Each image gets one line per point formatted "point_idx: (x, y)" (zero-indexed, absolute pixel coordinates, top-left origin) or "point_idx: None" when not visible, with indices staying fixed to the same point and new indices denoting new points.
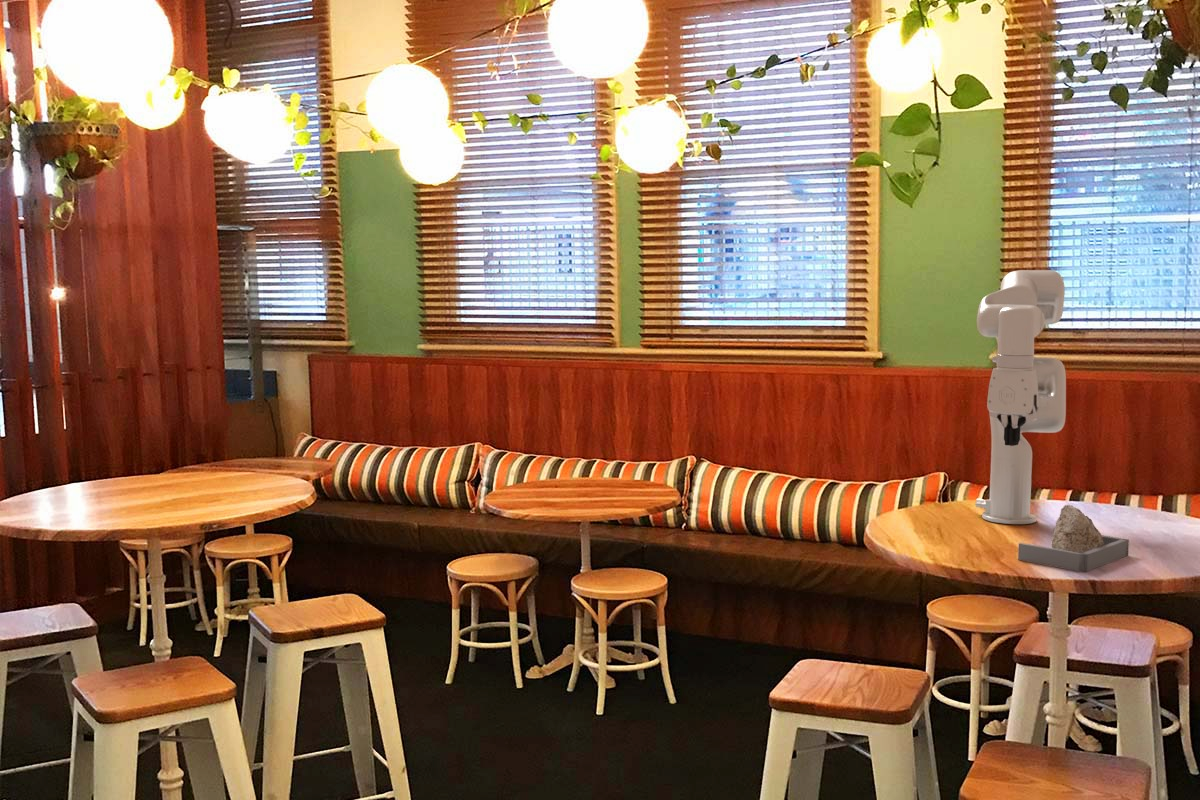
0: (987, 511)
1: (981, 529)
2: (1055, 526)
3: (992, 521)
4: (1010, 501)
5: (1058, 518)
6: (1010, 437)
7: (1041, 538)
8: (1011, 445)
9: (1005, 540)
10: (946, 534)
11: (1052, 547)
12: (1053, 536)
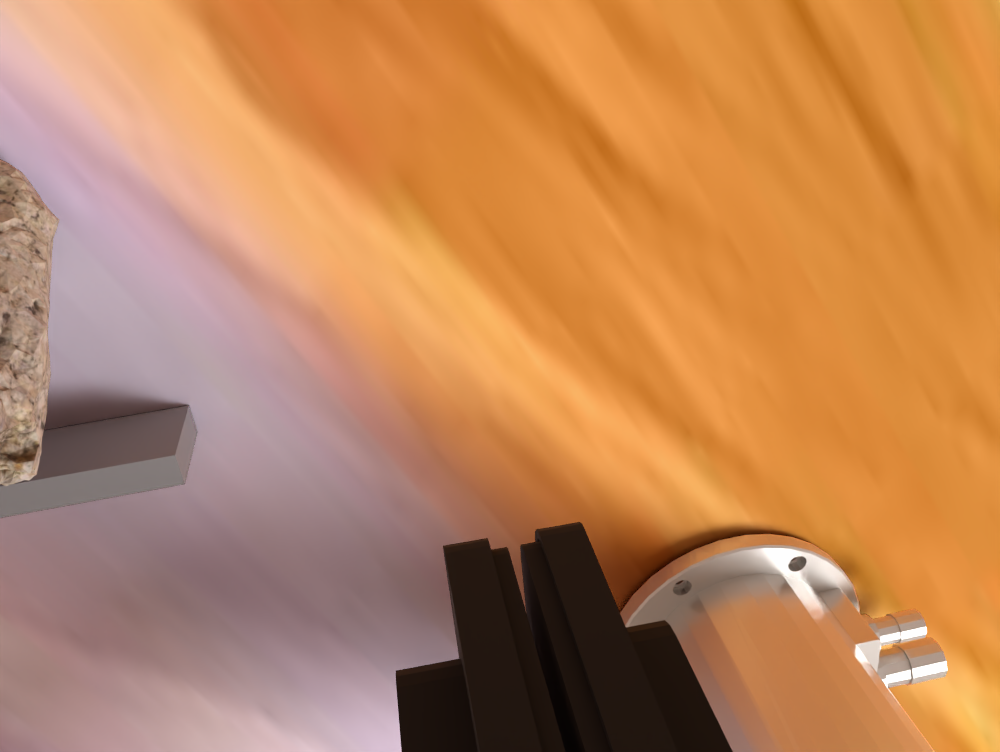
0: (833, 599)
1: (713, 363)
2: (31, 294)
3: (756, 534)
4: (730, 665)
5: (15, 346)
6: (489, 647)
7: (373, 452)
8: (443, 546)
9: (461, 241)
10: (790, 71)
11: (9, 164)
12: (34, 236)
